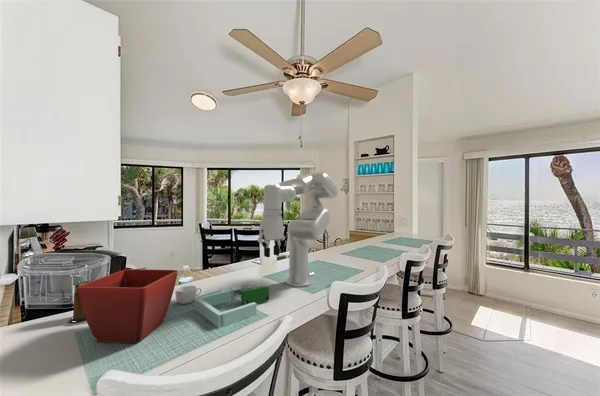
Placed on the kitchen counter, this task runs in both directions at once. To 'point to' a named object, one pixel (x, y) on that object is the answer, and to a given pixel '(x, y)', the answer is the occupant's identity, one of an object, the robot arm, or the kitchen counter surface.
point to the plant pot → (127, 303)
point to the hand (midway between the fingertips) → (271, 255)
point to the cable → (241, 289)
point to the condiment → (77, 308)
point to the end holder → (226, 317)
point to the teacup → (186, 294)
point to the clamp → (254, 295)
